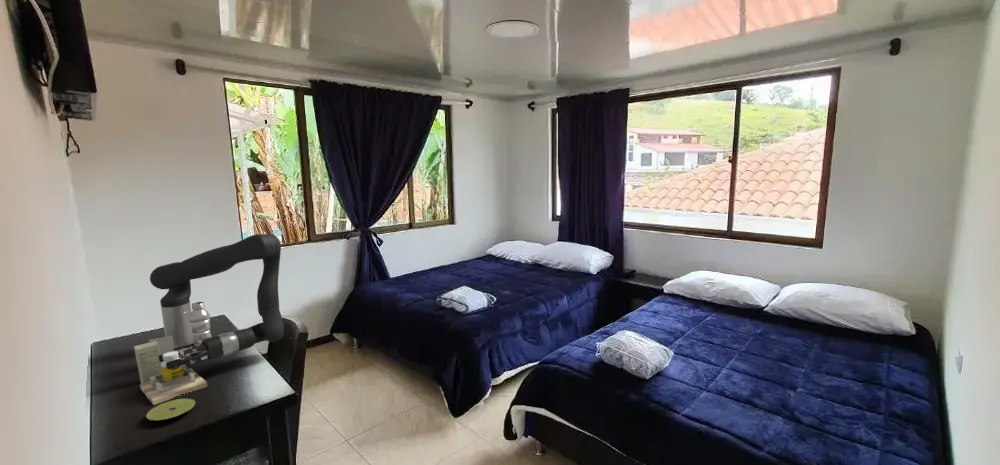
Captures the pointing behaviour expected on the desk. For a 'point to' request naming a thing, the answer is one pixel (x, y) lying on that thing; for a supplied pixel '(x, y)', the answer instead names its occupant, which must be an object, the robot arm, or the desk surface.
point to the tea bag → (164, 344)
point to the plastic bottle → (199, 323)
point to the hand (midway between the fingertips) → (162, 362)
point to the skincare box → (148, 360)
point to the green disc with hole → (170, 409)
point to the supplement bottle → (174, 372)
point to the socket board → (172, 386)
